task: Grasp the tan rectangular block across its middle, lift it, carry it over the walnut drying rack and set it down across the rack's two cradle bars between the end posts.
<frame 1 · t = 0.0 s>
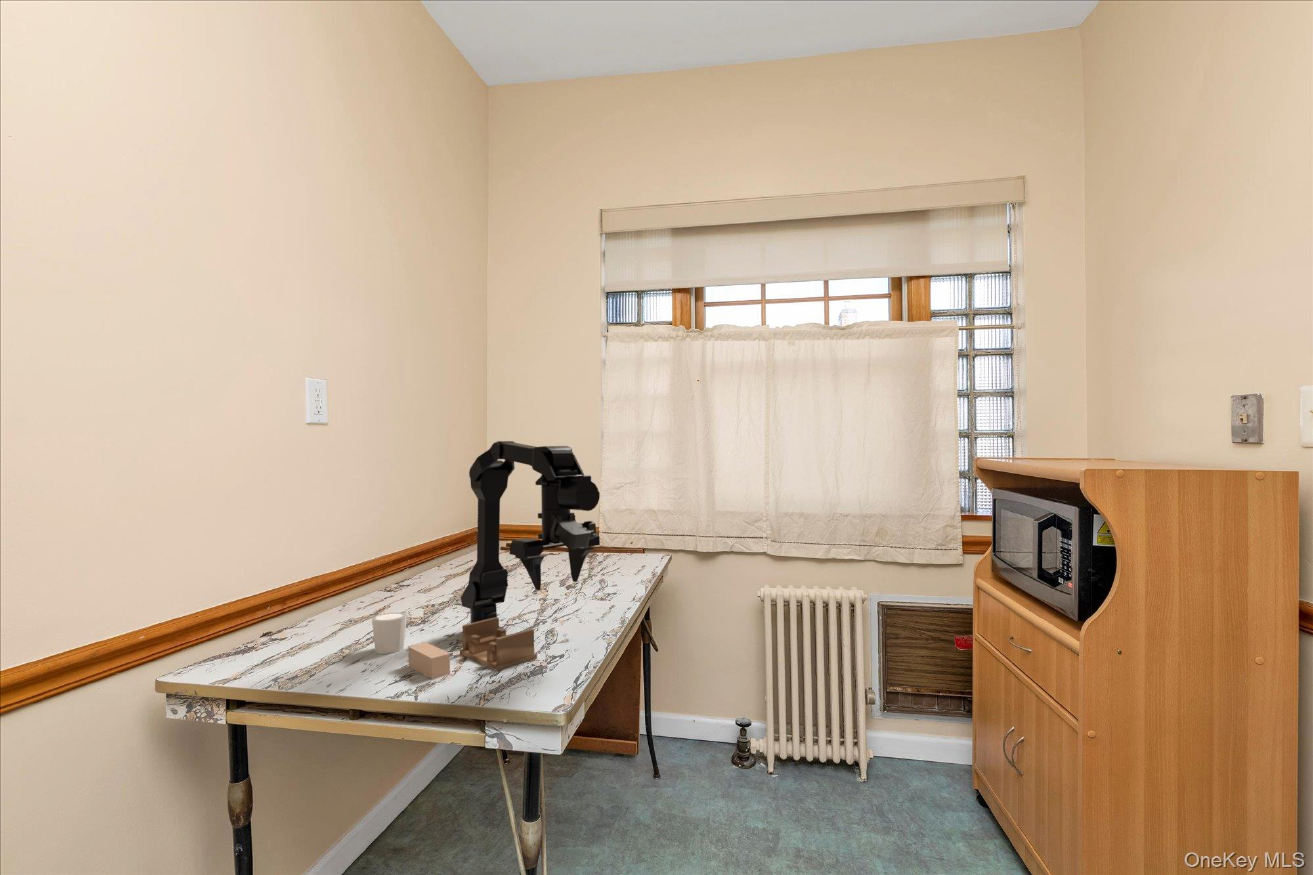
hand: (557, 585, 120), 15 cm above the table, fingers open, 9 cm apart
white tapered cup: (389, 650, 128), on the table
tan rectangular block: (428, 670, 115), on the table
rack: (497, 655, 122), on the table
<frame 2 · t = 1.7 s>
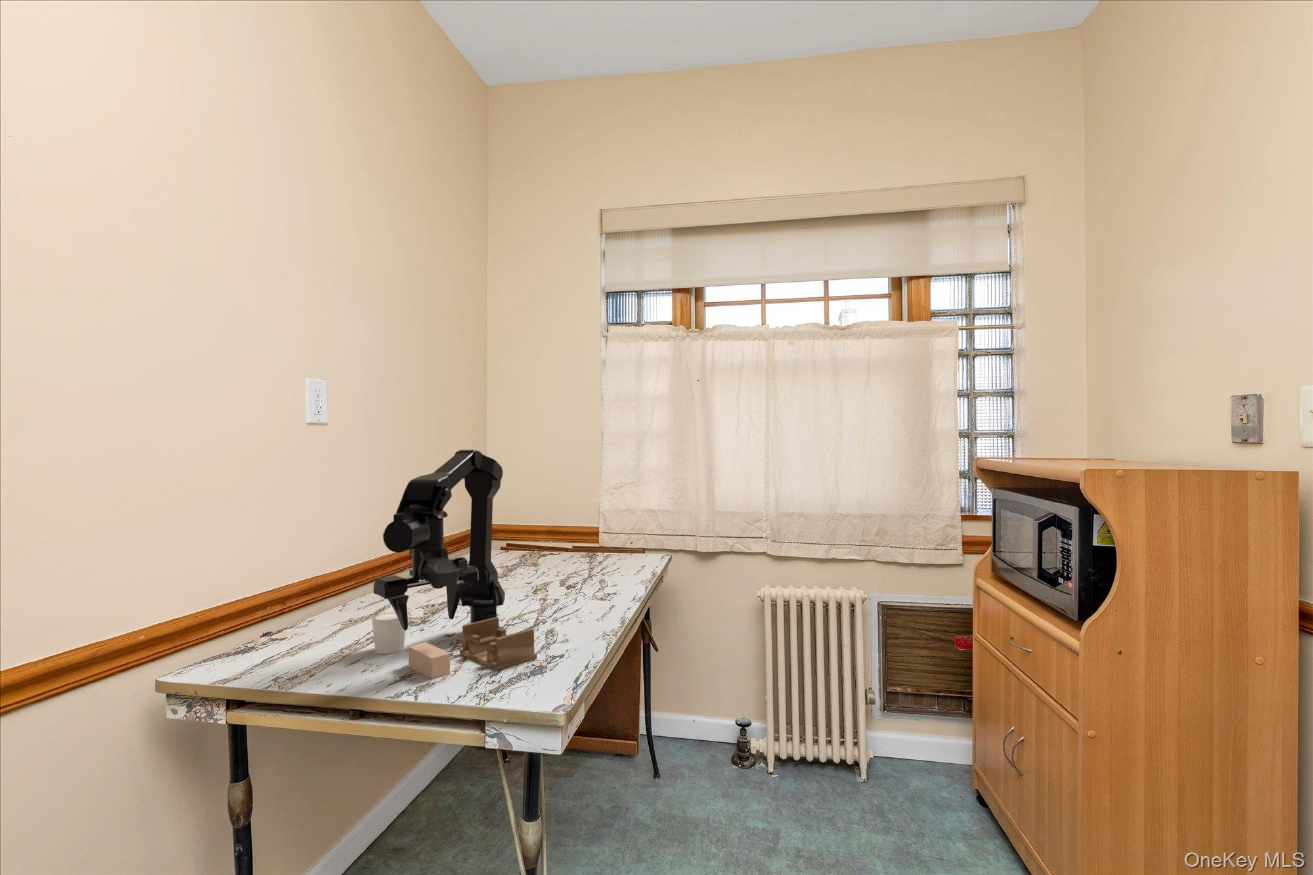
hand: (428, 624, 116), 9 cm above the table, fingers open, 9 cm apart
nothing on the table moved.
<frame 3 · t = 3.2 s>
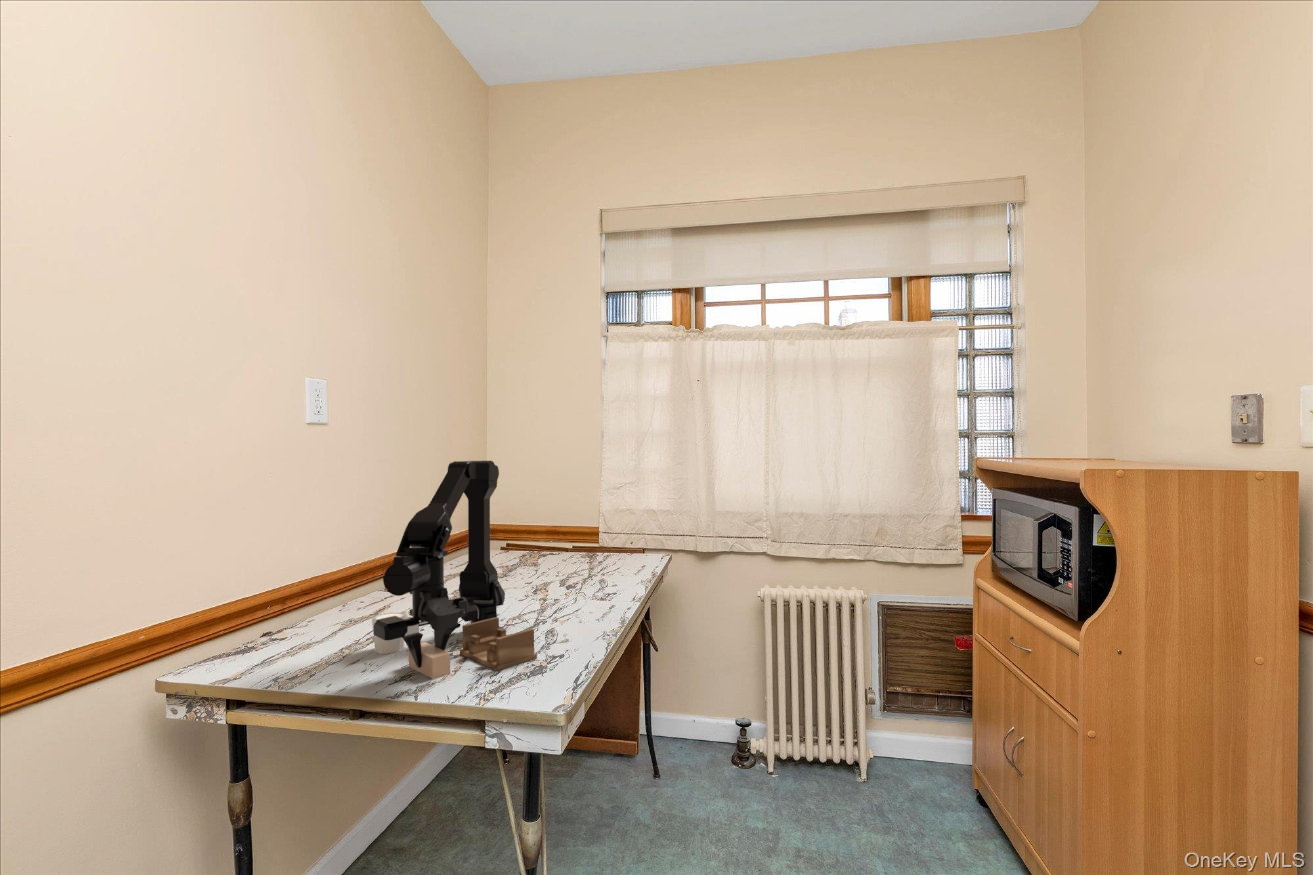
hand: (428, 664, 115), 1 cm above the table, fingers closed on tan rectangular block, 3 cm apart
tan rectangular block: (429, 670, 115), on the table, touching gripper
everything else where it was.
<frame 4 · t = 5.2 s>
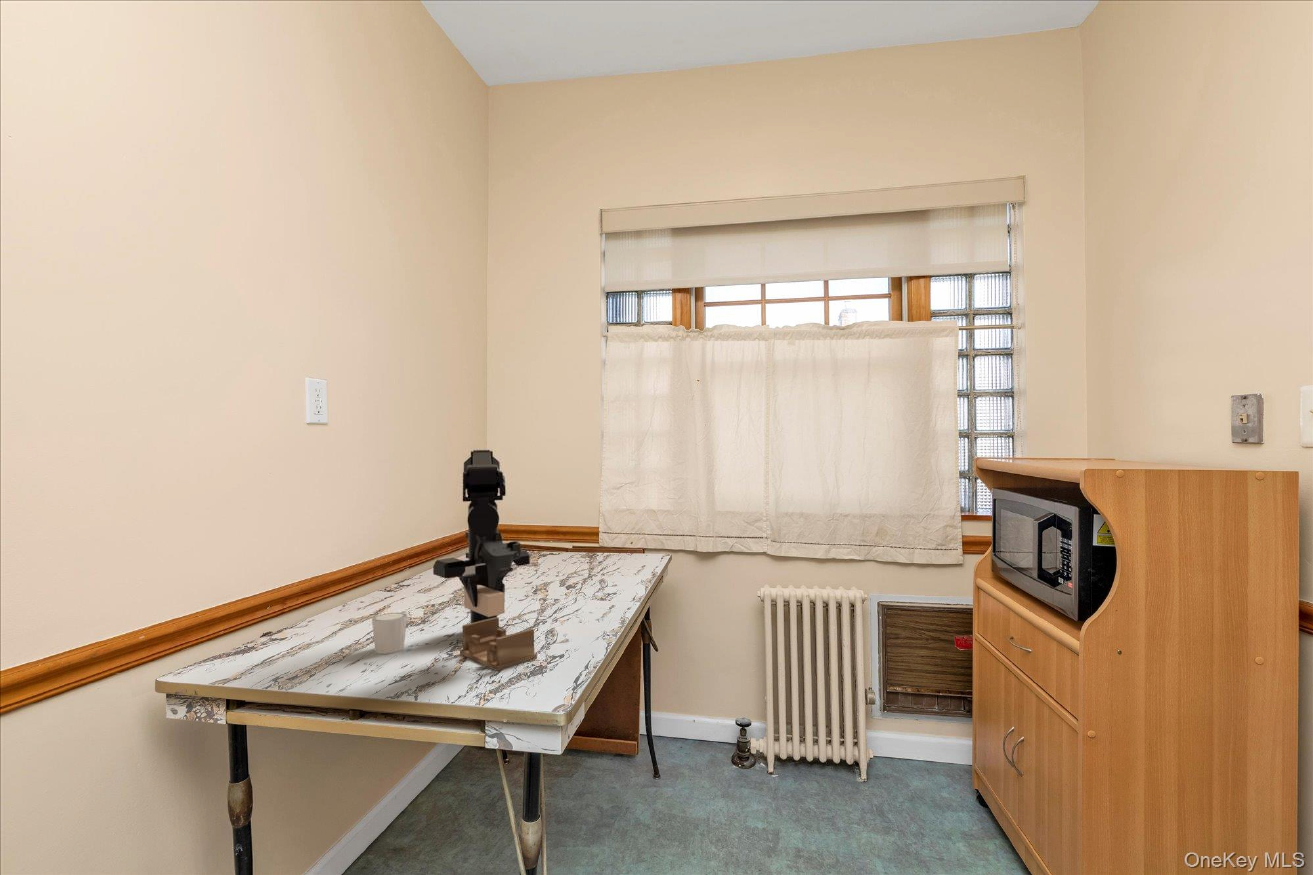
hand: (483, 604, 121), 11 cm above the table, fingers closed on tan rectangular block, 3 cm apart
tan rectangular block: (484, 610, 121), point 10 cm above the table, touching gripper
everything else where it was.
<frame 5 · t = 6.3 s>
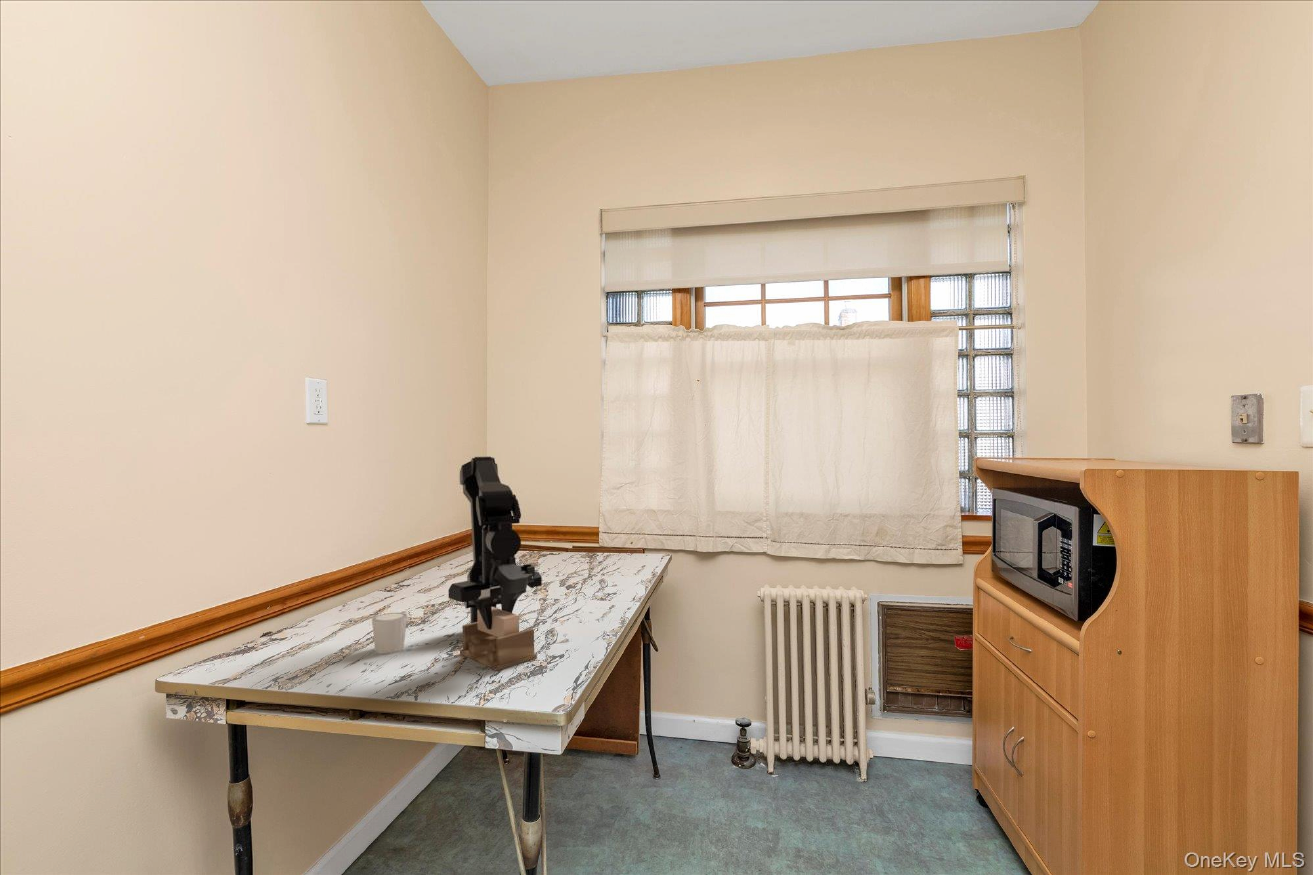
hand: (497, 626, 123), 6 cm above the table, fingers closed on tan rectangular block, 3 cm apart
tan rectangular block: (498, 632, 123), point 5 cm above the table, touching gripper
everything else where it was.
when the fingers open (5 cm above the table, at t = 7.1 s): tan rectangular block drops 1 cm, resting on rack.
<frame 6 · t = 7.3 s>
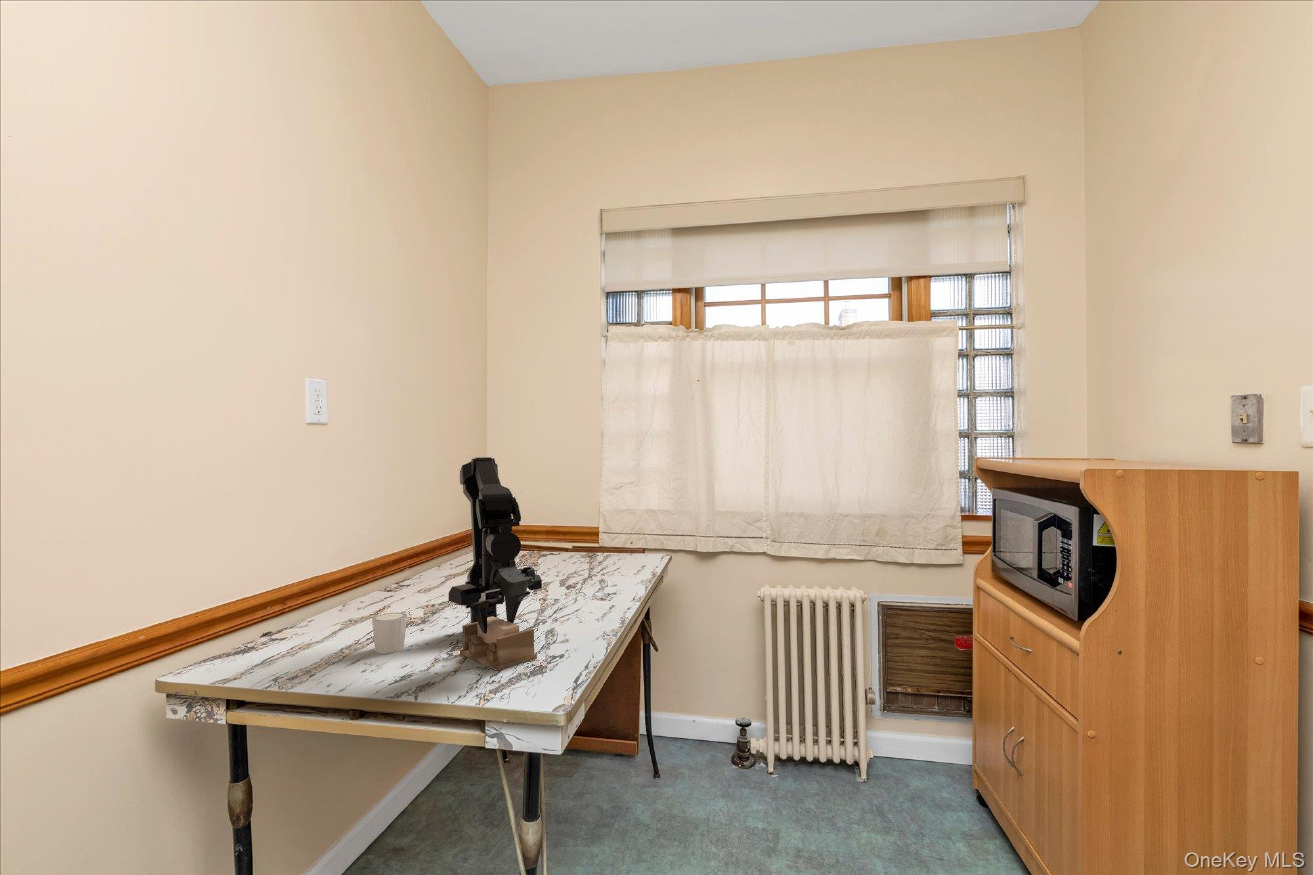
hand: (497, 629, 123), 5 cm above the table, fingers open, 6 cm apart
tan rectangular block: (498, 642, 123), point 3 cm above the table, touching rack
everything else where it was.
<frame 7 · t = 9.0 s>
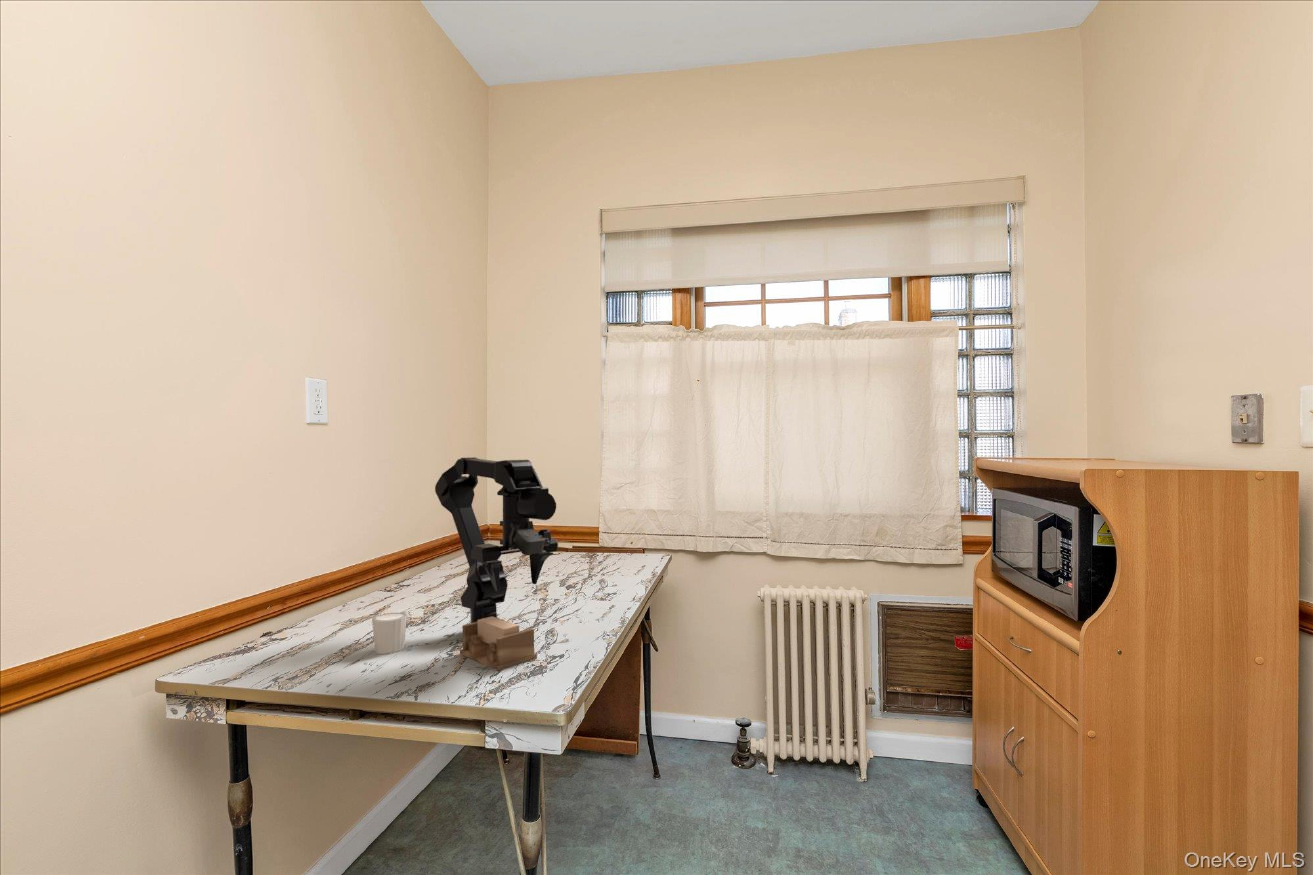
hand: (516, 587, 132), 12 cm above the table, fingers open, 9 cm apart
nothing on the table moved.
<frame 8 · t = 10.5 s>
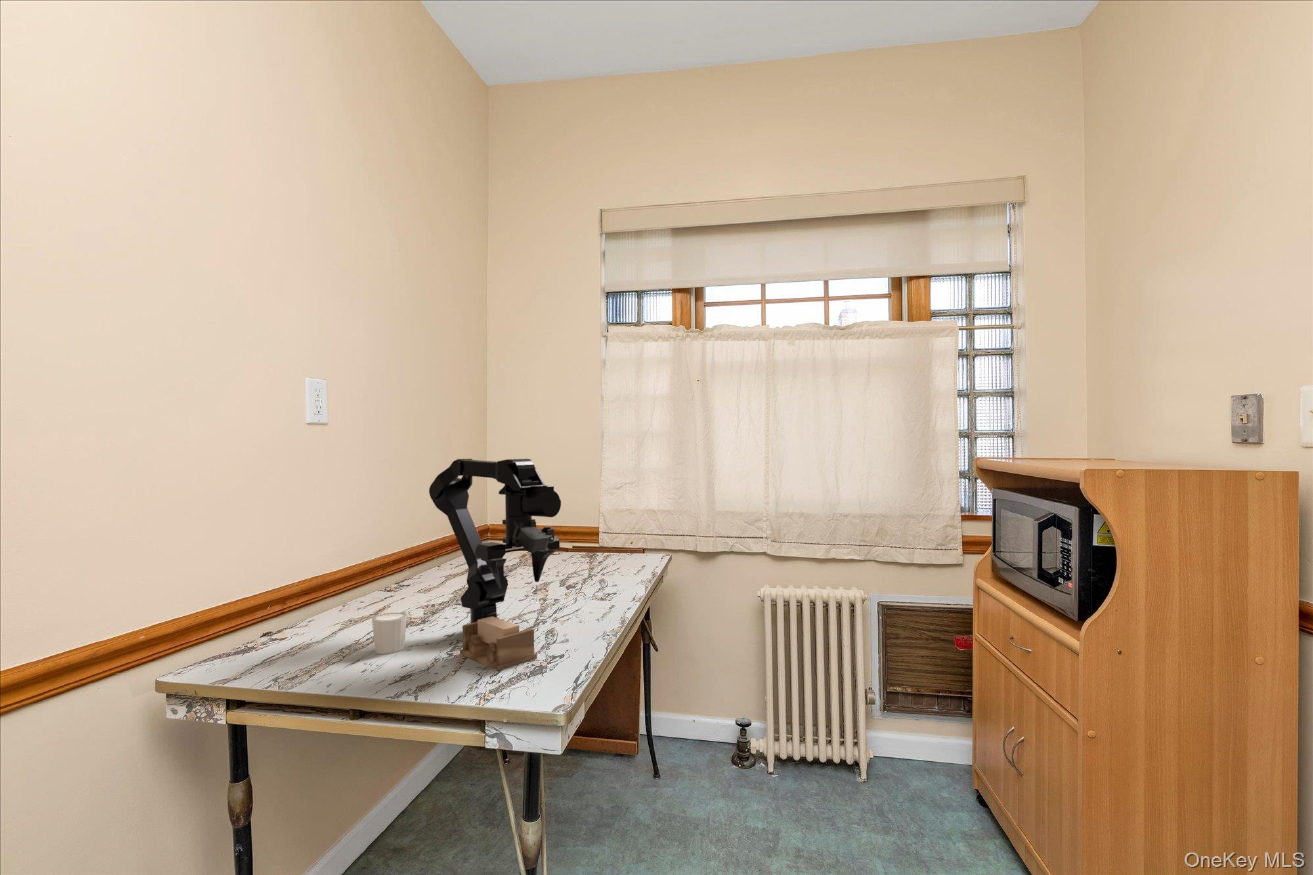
hand: (519, 585, 133), 12 cm above the table, fingers open, 9 cm apart
nothing on the table moved.
at the end: tan rectangular block 0.1 cm off-centre on the rack, point 2.8 cm above the rack's base; tan rectangular block tilted 0°; the gripper is holding nothing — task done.
